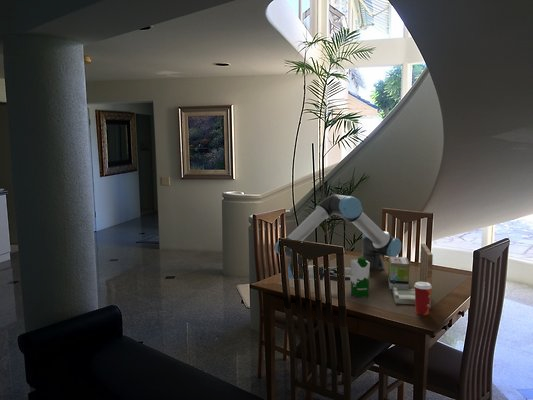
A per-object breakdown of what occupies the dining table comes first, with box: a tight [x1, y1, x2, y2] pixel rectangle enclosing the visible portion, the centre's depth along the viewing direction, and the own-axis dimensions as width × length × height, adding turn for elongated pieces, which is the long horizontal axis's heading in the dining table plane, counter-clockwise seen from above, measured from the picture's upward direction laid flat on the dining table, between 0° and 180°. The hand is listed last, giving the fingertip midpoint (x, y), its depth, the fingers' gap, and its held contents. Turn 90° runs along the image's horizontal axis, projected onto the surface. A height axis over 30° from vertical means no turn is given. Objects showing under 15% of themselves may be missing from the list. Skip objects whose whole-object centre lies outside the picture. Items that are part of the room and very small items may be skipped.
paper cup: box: [413, 281, 433, 316], centre depth 210 cm, size 8×8×14 cm
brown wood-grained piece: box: [392, 243, 434, 309], centre depth 228 cm, size 24×16×26 cm, turn 169°
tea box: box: [387, 256, 410, 290], centre depth 249 cm, size 15×10×15 cm, turn 168°
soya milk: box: [350, 256, 370, 298], centre depth 235 cm, size 9×9×20 cm
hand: (357, 274), depth 235 cm, fingers open, 13 cm apart
